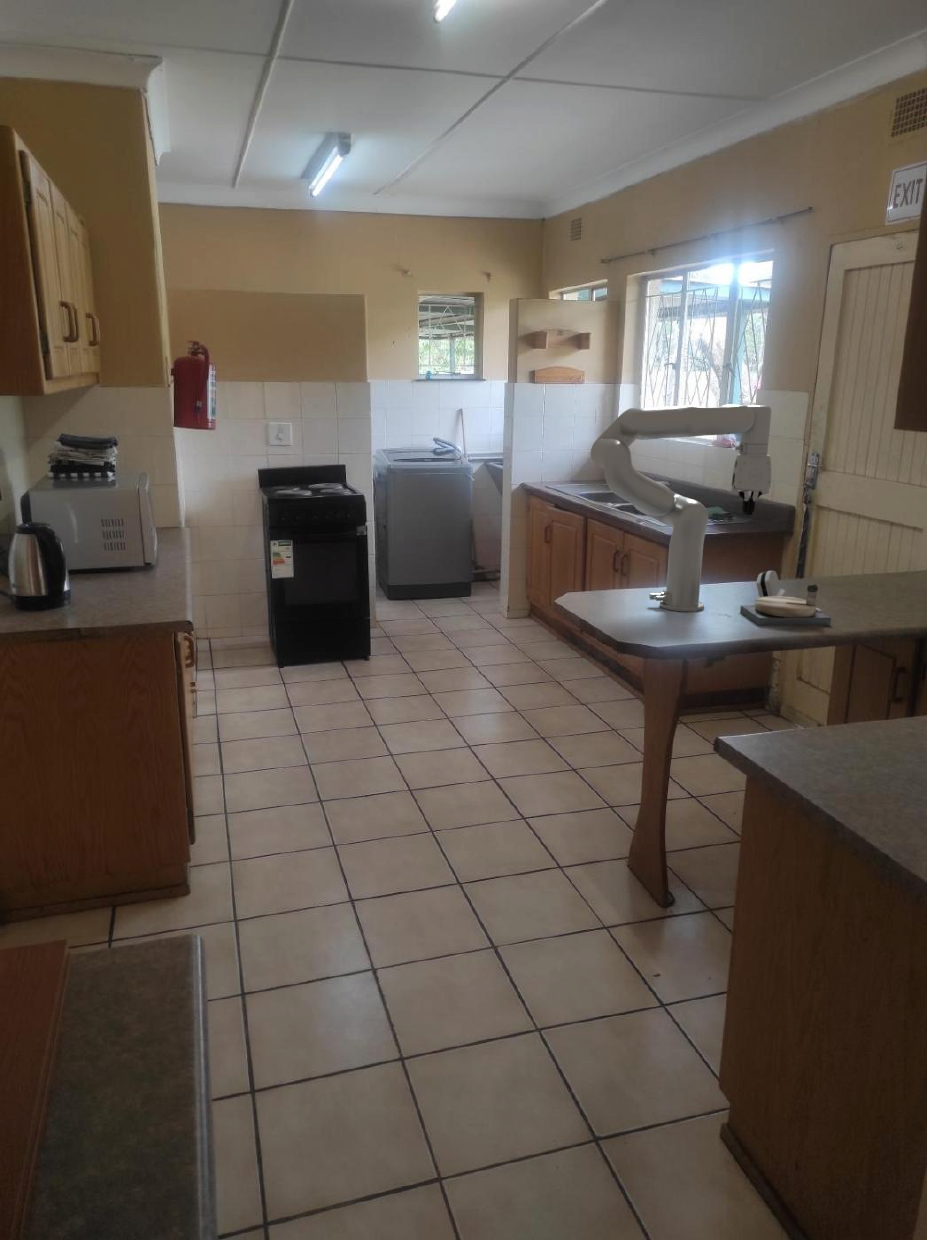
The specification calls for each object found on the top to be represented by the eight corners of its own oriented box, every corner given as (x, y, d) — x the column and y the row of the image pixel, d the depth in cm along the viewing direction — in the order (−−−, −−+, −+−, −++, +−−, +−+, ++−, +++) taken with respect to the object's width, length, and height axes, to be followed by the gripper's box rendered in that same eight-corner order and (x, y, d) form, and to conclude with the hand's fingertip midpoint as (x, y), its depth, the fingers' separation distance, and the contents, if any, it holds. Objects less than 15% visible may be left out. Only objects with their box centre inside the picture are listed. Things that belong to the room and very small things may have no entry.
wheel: (755, 600, 254) (757, 574, 252) (813, 605, 249) (817, 578, 247) (754, 614, 239) (757, 585, 237) (817, 619, 234) (820, 590, 232)
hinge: (779, 607, 257) (770, 575, 256) (763, 611, 259) (754, 578, 258) (787, 595, 271) (778, 565, 270) (771, 599, 274) (763, 568, 273)
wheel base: (758, 625, 238) (759, 615, 237) (740, 612, 251) (740, 603, 250) (830, 625, 239) (831, 615, 238) (808, 612, 252) (809, 602, 251)
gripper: (732, 450, 244) (726, 516, 249) (784, 451, 245) (778, 516, 249) (723, 448, 251) (718, 512, 256) (774, 449, 252) (768, 512, 257)
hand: (747, 514), depth 253 cm, fingers closed
